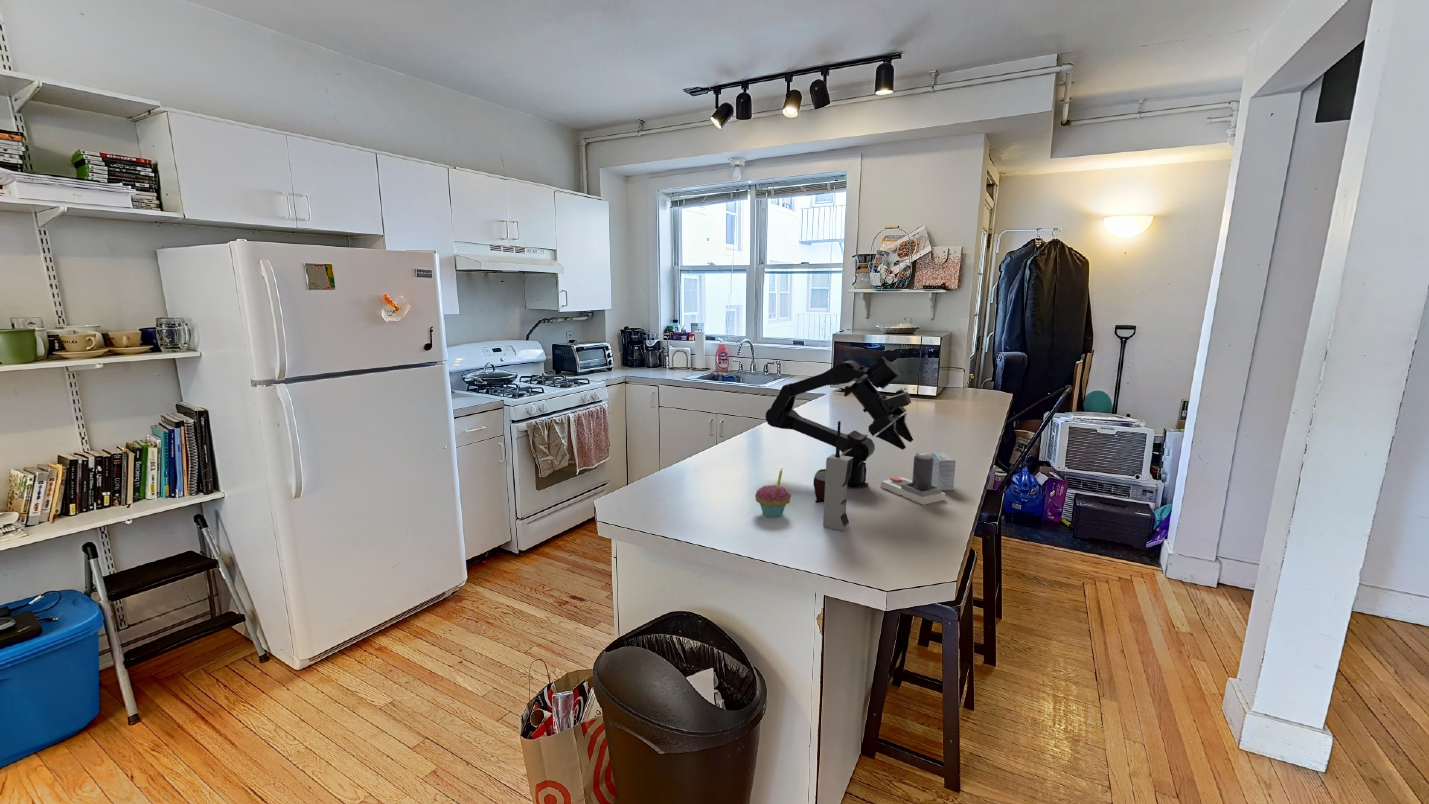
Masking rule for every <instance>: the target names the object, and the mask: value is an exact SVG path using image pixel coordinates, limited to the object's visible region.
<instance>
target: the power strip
mask: <svg viewBox="0 0 1429 804" xmlns="http://www.w3.org/2000/svg"><path fill="white" fill-rule="evenodd" d="M889 478H890V479H886V480H880V488H882V489H884V490H886V489H887V491H888V492H891V493H893V492H894V494H897V495H899V496H901V495H902V496H901V497H903V498H904V499H905V498H906V499H908V498H909V500H910V499H911V500H910V501H913V502H915V501H916V502H915V503H918V504H920V505H922V504H923V506H924V505H928V504H933V502H934V503H937V502H941V501H943V502H944V501H945V500H946V493H945V492H943V490H942V488H940V487H937V486H934V485H932V484H931V490H927V491H920V490H917V489H915V488H912V480H911V479H908V478H905V477H904V476H903V477H897V476H893V477H889Z"/></svg>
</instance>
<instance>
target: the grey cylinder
mask: <svg viewBox="0 0 1429 804" xmlns="http://www.w3.org/2000/svg"><path fill="white" fill-rule="evenodd" d="M912 467H913V468H912V480H911V481H912V488H915V489H917V490H920V491H927V490H931V482H932V471H933V458H932V454H931V453H930V452H925V451H918V452H916V453H915V455H914V456H913V466H912Z"/></svg>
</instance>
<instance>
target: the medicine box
mask: <svg viewBox="0 0 1429 804" xmlns="http://www.w3.org/2000/svg"><path fill="white" fill-rule="evenodd" d="M930 454H932V458H933V471H932V482H931V484H932V485H934V486H937V487H940V488H942V491H954V487H955V475H956V474H955V473H956V472H955V471H956V460H955V459H953V458H952V457H951V456H949V455H948V454H946V453H945V452H932V453H930Z"/></svg>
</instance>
